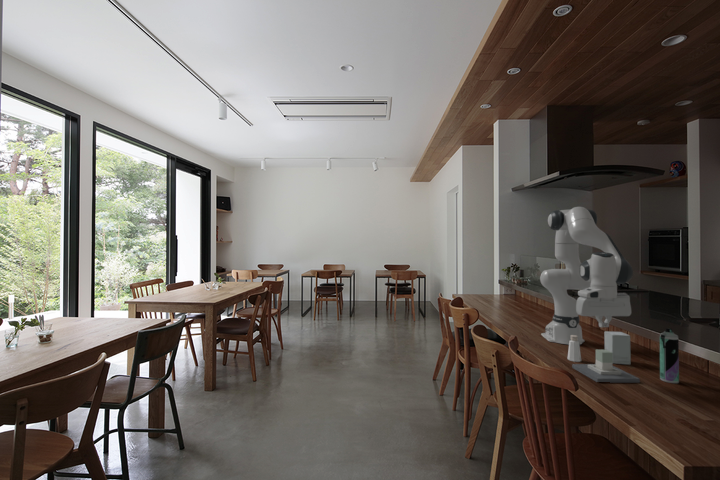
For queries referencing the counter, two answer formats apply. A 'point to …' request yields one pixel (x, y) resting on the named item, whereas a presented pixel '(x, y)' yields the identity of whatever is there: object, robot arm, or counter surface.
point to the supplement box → (618, 347)
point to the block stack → (604, 360)
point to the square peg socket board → (605, 374)
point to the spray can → (669, 356)
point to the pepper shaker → (574, 349)
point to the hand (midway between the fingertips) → (603, 327)
